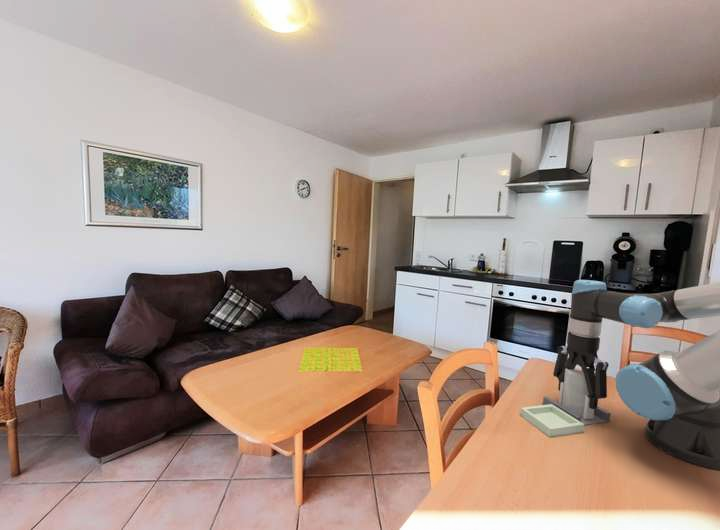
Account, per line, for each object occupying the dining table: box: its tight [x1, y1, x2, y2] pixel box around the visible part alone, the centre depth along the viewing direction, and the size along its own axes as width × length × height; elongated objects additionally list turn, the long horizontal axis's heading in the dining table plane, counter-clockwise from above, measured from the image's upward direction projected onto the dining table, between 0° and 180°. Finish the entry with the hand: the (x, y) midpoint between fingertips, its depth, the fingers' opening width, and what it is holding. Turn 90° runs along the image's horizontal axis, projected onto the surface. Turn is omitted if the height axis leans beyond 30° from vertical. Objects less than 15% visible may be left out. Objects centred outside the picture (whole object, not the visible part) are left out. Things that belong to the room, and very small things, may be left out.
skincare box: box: [562, 369, 589, 416], centre depth 90 cm, size 6×4×12 cm
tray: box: [519, 404, 585, 438], centre depth 84 cm, size 10×11×2 cm
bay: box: [542, 396, 612, 426], centre depth 90 cm, size 11×12×2 cm
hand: (575, 409), depth 90 cm, fingers open, 7 cm apart
